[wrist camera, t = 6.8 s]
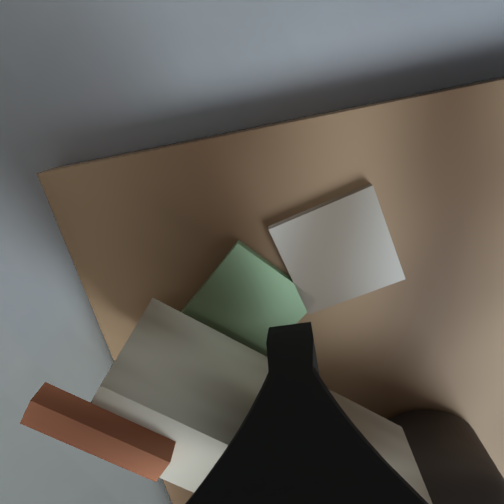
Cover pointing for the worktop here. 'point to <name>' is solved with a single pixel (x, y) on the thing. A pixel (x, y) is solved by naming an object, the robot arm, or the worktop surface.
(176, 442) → the peg
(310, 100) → the worktop surface
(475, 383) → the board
